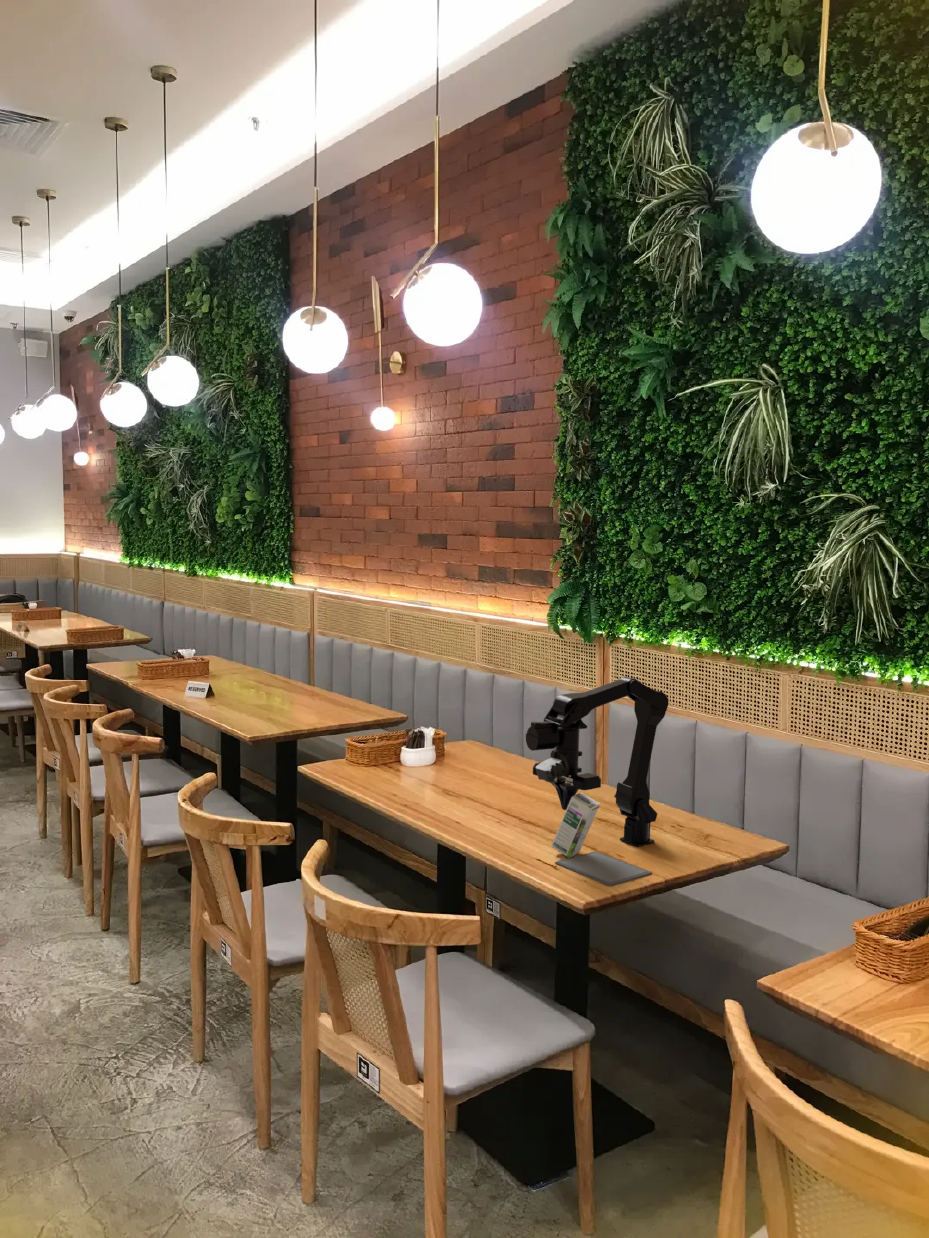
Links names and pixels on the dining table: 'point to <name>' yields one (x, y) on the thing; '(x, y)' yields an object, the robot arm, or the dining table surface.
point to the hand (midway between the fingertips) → (564, 809)
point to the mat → (603, 868)
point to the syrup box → (575, 825)
